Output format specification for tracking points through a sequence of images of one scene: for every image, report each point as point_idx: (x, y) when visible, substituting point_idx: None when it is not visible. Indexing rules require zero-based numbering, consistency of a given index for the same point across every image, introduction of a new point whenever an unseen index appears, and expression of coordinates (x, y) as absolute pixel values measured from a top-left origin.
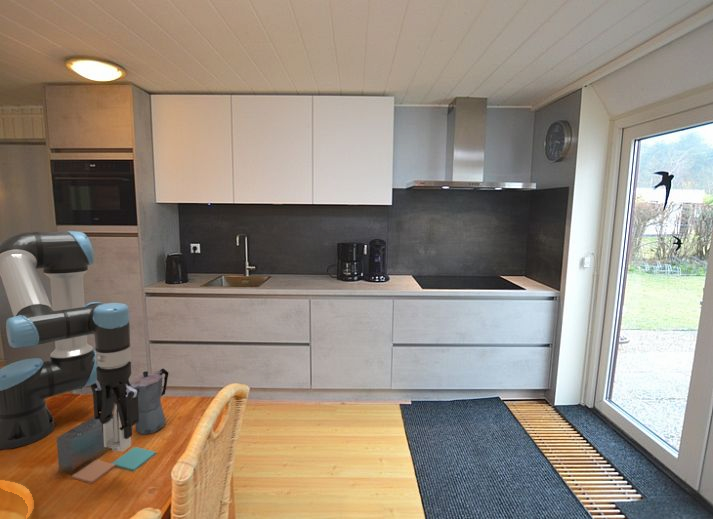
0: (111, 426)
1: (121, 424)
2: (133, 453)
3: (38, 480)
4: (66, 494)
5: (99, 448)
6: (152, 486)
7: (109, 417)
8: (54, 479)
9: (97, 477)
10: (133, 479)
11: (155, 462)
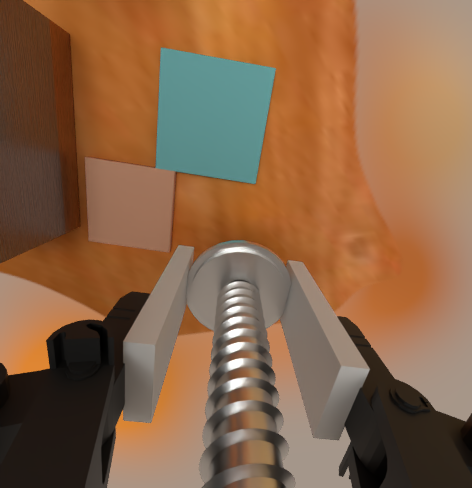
0: (169, 333)
1: (353, 484)
2: (191, 97)
3: (12, 259)
4: (140, 290)
5: (51, 123)
6: (351, 234)
7: (109, 399)
8: (50, 250)
9: (169, 235)
10: (277, 216)
11: (300, 125)
